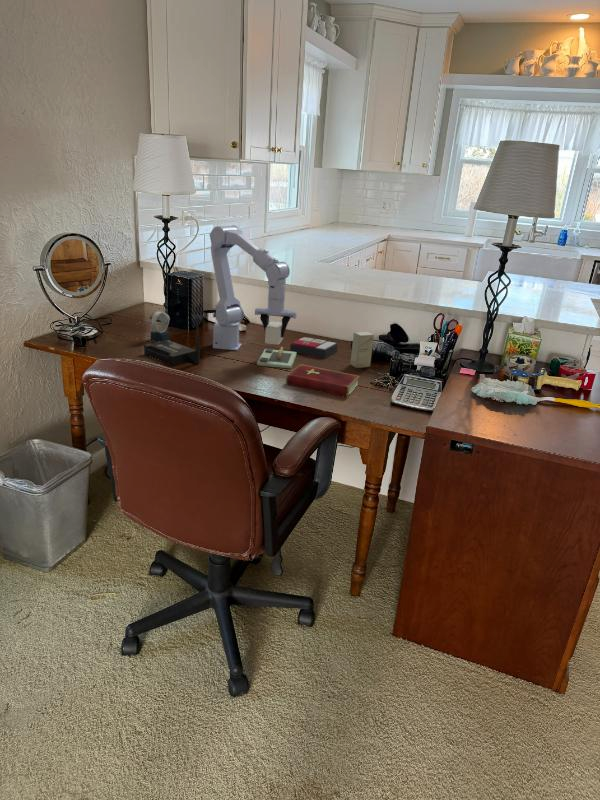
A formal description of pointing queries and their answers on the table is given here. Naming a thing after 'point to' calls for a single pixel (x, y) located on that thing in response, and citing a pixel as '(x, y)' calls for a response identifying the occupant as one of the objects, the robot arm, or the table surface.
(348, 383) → the hardcover book
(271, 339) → the block
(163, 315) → the watch
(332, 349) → the calculator
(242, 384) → the table surface
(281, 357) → the pcb board
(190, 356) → the grey and black stand
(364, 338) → the skincare box
